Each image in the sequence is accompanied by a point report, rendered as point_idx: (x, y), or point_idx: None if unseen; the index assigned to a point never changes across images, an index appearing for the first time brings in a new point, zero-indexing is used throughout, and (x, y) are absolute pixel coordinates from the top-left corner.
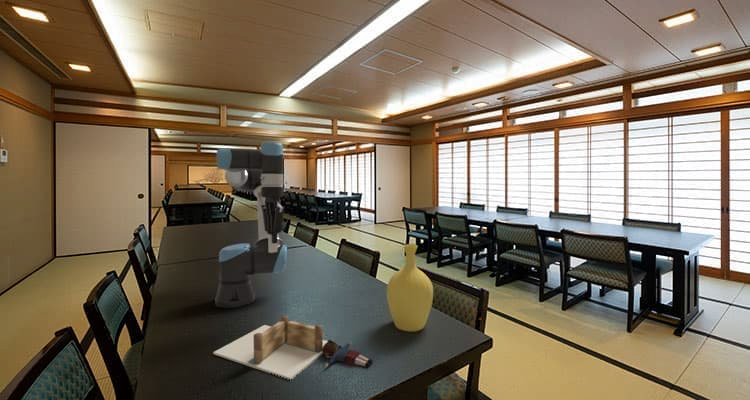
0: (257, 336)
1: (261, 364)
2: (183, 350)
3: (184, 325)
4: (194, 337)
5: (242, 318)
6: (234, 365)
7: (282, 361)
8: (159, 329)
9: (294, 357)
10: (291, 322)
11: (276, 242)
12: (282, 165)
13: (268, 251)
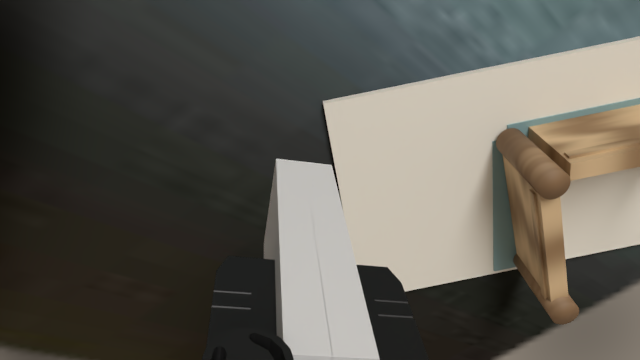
0: (572, 319)
1: None
2: None
3: (61, 280)
4: (199, 291)
5: (159, 113)
6: (462, 286)
7: (583, 213)
8: (39, 336)
9: (604, 180)
10: (585, 171)
11: (391, 284)
12: None
13: (264, 248)
